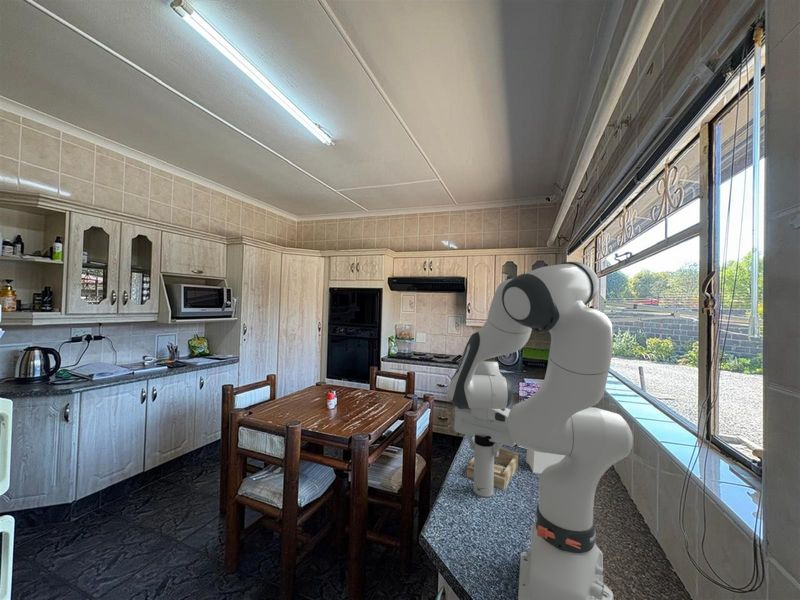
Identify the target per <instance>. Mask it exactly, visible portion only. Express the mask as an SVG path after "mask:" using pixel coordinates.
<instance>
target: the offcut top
mask: <svg viewBox="0 0 800 600" xmlns="http://www.w3.org/2000/svg"><path fill="white" fill-rule="evenodd" d="M497 465H498V464H496V465H494V474H496V475H499V476H502V473H503V467H504V466H503V467H501V466H502V465H500V466H497Z"/></svg>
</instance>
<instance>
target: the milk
mask: <svg viewBox="0 0 800 600" xmlns="http://www.w3.org/2000/svg"><path fill="white" fill-rule="evenodd" d="M565 456H566V455H558V454H550V453H542V452H536V451H533V450H530V449H527V448H526V458H525V459H526V460H525V462H526V464H528V466H529V467H530V469H531V471H532V473H534V474H541V473H542V472H543V470H544V469H545V468H547V467H548V466H550V465H553V464H556V463H558V462H560V461H561V460H562V459H563V458H564V457H565Z"/></svg>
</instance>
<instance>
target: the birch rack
mask: <svg viewBox="0 0 800 600" xmlns="http://www.w3.org/2000/svg"><path fill="white" fill-rule="evenodd" d="M494 448H495V449H497V448H498V446H496V445H494ZM496 463H497V464H496ZM467 464H468V465H467V466H466V478H468V479H472V480H474V456H473V457H471V459H470V460H469V461H468V463H467ZM494 465H497V466H501V467H503V473H502V476H499V475H496V474H494V488H497V489H500V490H503V491H505V490H506V488H507V487H508V485H509V483H510V482H511V480H512V478H513V477H514V475H515V473H516V472H517V471H518V469H519V452H518V451H517V452H516V451H514V450H510V449H506V448H502V447H501V448H500V449H499V455H498V457H496V456H494Z"/></svg>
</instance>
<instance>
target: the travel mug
mask: <svg viewBox="0 0 800 600" xmlns="http://www.w3.org/2000/svg"><path fill="white" fill-rule="evenodd" d="M489 439H491V437H490V436H486V437H481V436H477V435H475V437H474V440H473V442H474V450H473V457H474V479H473V493H474V494H475V495H476V496H478V497H479V498H483V499H490V498H493V496H494V488H495V487H494V464H495V462H494V456H493V450H494V446H495V442H491V441H489Z"/></svg>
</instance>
